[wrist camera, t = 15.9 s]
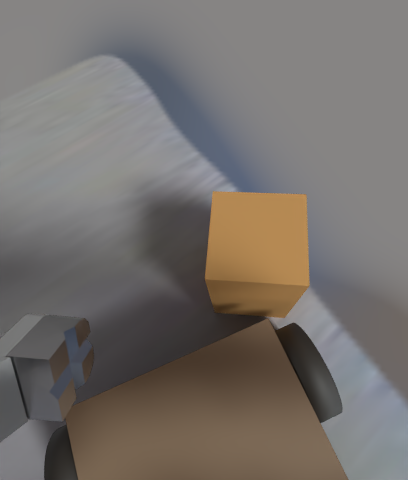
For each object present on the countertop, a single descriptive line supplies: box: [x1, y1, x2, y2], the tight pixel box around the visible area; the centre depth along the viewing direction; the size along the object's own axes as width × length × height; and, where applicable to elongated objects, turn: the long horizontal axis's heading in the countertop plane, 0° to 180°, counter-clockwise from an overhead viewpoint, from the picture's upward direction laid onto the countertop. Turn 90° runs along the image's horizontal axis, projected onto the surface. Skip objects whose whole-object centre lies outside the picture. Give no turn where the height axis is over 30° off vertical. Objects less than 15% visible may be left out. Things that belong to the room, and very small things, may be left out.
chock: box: [205, 191, 309, 318], centre depth 19 cm, size 5×5×8 cm
